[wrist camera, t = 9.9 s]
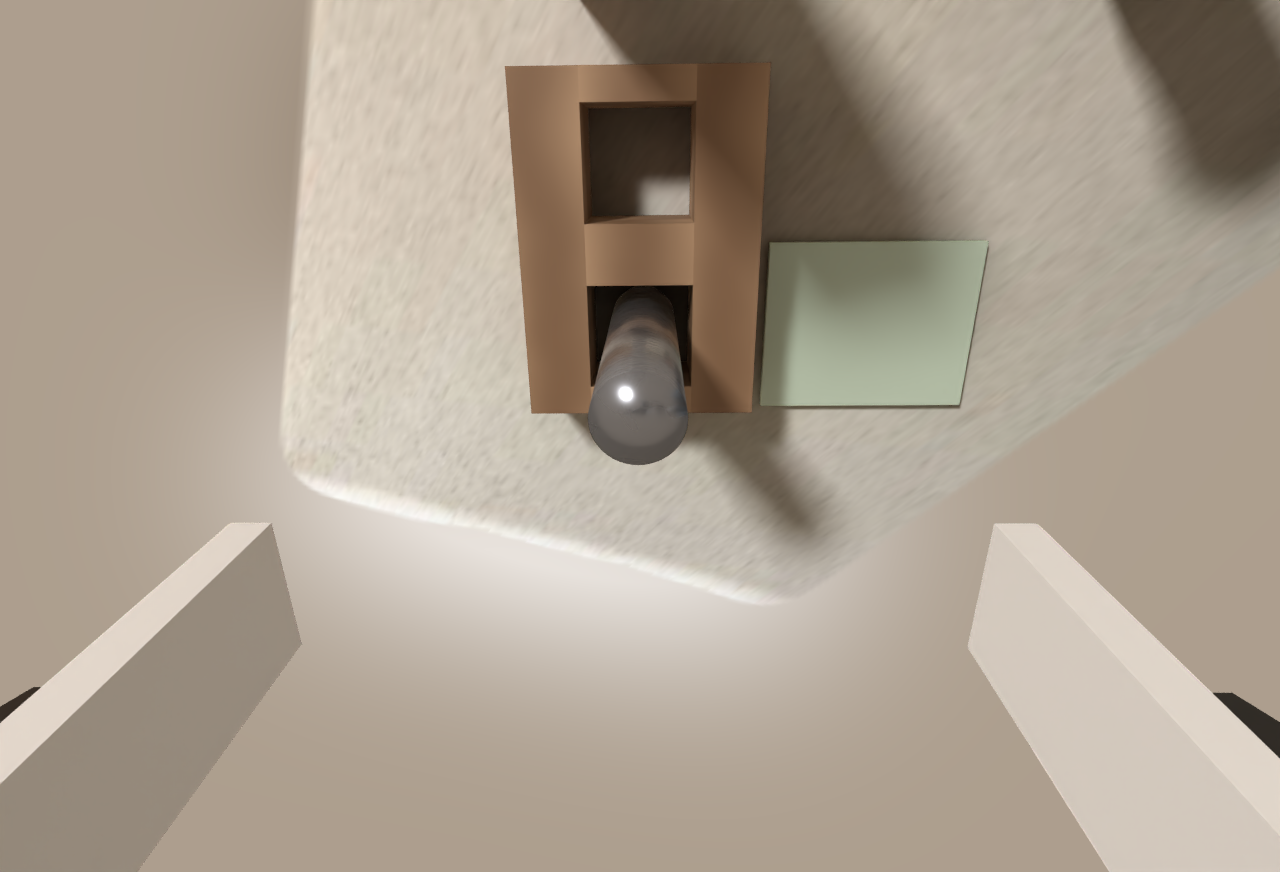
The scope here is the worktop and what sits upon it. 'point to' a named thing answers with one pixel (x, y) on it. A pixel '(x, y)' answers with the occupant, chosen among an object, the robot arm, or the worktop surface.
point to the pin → (639, 381)
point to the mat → (869, 321)
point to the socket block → (639, 224)
